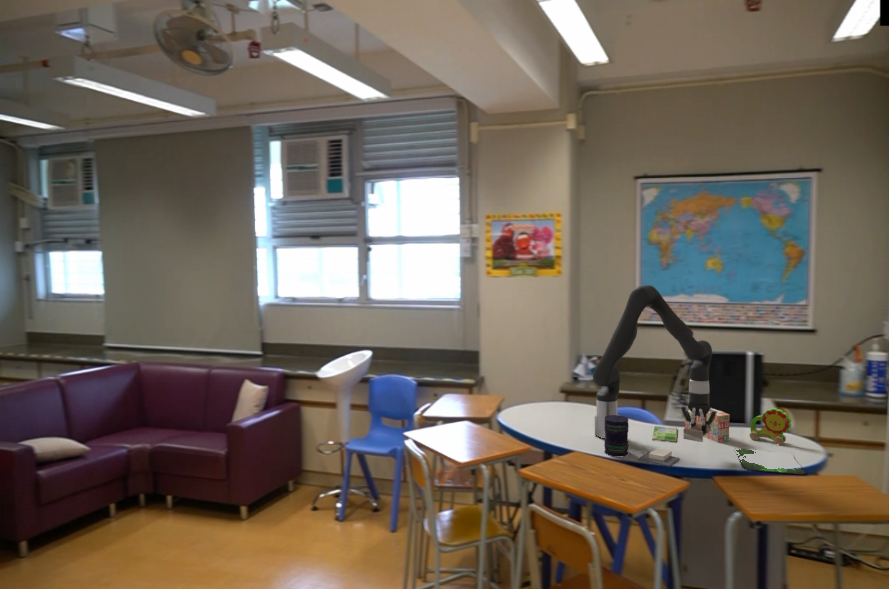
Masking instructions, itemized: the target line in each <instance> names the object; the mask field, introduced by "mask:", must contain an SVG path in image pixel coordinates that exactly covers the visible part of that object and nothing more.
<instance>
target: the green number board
mask: <svg viewBox="0 0 889 589" xmlns="http://www.w3.org/2000/svg"><path fill="white" fill-rule="evenodd" d="M677 432H678V428H677V427H670V426H658V425H657V426H654V429H653V433H652V439H651V440H652V441H654V440H661V441H660V442H665V441H669V442H668V443H677V436H678V433H677Z"/></svg>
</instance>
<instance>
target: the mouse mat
mask: <svg viewBox="0 0 889 589" xmlns="http://www.w3.org/2000/svg"><path fill="white" fill-rule="evenodd" d="M746 449H747V448H741V450H740V449H739V450H736V451H737V452H739V454H740V455H739V456H738V457H737V459H738V458H739V457H740V456H743V455H744V454H754V451H752V450H746ZM755 453H756V452H755ZM737 455H738V454H736V456H737ZM744 457H745V458H746V456H744ZM744 457H743V458H744ZM739 460H740V459H738V461H739ZM741 461H742V462H741ZM739 463H741V464H740V465H741V468H742V469H743V468H744V470H745V469H747V470H746V471H749V470H752V472H761V471H762V472H764V473H773V474H784V475H787V474H788V475H796V476H797V475H800V476H804V475H806V474H807V472H806V471H805V470H804V468H803V467H802V468H801V469H796V468H794V469H784V468H781V469H780V468H778V469H767V468H765V467H764V466H762V465H758V464H755V463H749V462H747V461H745V460H744V459H742V460H740V461H739Z"/></svg>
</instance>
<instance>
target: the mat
mask: <svg viewBox="0 0 889 589" xmlns="http://www.w3.org/2000/svg"><path fill="white" fill-rule="evenodd" d="M651 452H652V451H646V452H645V453H643V454H642V455H640V456H639V457H637V461H640V462H644V461H645V463H649V462H651V463H650V464H653V463H654V464H655V465H659V466H662V467H668V468H670V467H671V466H672V465H674V464H675V463H676V462H678V461H680V457H677V456H672V455H671V456H670V457H669V458H667V459H666V460H665V461H660V460H655V459H650V458H649V453H651ZM677 460H678V461H677Z"/></svg>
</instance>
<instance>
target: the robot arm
mask: <svg viewBox="0 0 889 589" xmlns="http://www.w3.org/2000/svg"><path fill="white" fill-rule="evenodd" d="M628 296H629V297H628V299H627V302H626V305H625V308H624V311H623V313H622V315H621V317H620V319H619V321H618V323H617V326H616V327H615V329H614V332H613V333H612V334H611V335H612V336H611V338H610V340H609V343H608V344H607V346H606V349H605V351H604V353H603V355H602V357H601V358H600V359H599V361H598V363H597V364H596V366H595V367H594V369H593V371H592V380H593V383H594V384H595V385H596V386H599V387H601V388H600V390H598V391H597V392H596V398H595V399H596V415H594V436H595V435H597V436H599V437H602V438H605V429H604V428H605V426H604V423H605V417H606V416H609V415H618V396H619V393H620V381H621V380H620V378H621V375H620V370H619V369H618V367H617V366H616V365H617V363H618V362H619V361H620V360H621V359H622V358H623V357H624V356H625V355H626V354H628V352H629V350H630V349H631V348H632V346H633V344H634V342H635V340H636V338H637V336H638V321H639V319H640V316H642V312H643V311H644V309H645V308H649V309H651V310H653V311H654V312H655V313H656V314H657V315H658V316H659V318H660V320H661V322H662V323H663V326H664V328H665V329H666V331H667V332H668V333H669V335H671V336H672V337H673V338H674V339H675V340H676V341H677V342H678V344H679V345H680V347H681V348H682V349H683V352H684V354H686V356H688V357H689V358H690V359H692V360H694V361H693V364H691V366H690V368H689V382H688V383H689V384H688V404H687V405H684V406H682V407H681V408H680V409H681V411H682V414H683V417H684V419H685V418H686V421H689V422H690V423H691V428H692V427H694V426H695V425H696V423H695V422H696V418H697V416H700V417H701V420H702V431H703V435H704V434H705V433H706V432H707V425H710V424H711V423H712V421H713V420H714V418H715V416H716V414H717V411H716V410H717V409H715V411H714V410H712V409H713V408H712V407H711V406H710V391H711V389H710V370H709V369H710V366H711V361H712V357H713V348H712V345H711V344H710V342H708V341H707V340H703V339H702V340H698V341H697V340H696V339H695V337H694V331H693V330H692V329H691V328H690V326H688V325H687V324H686V323H685V322H684V321H683V320H682V319H681V318H680V317H679V316H678V315H677V313H676V312H675V311H673V309H672V308H671V307H670V305H669V304H668V303H667V301H666V300H665V299H664V298H663V296H662V295H661V293H660V292H659V291H658V290H657V288H655V287H654V286H652V285H646V284H645V285H640V286H636V287H634V288H633V289H632V290H631V292H630V295H628ZM711 408H712V409H711ZM688 410H690V411H691V412H692V416H691V417H690V414H689V412H688ZM708 412H710V415H711V416H710V418H709V420H708V421H707V415H706V414H707V413H708ZM597 436H596V437H597ZM599 437H598V438H599ZM602 438H601V439H602Z"/></svg>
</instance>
